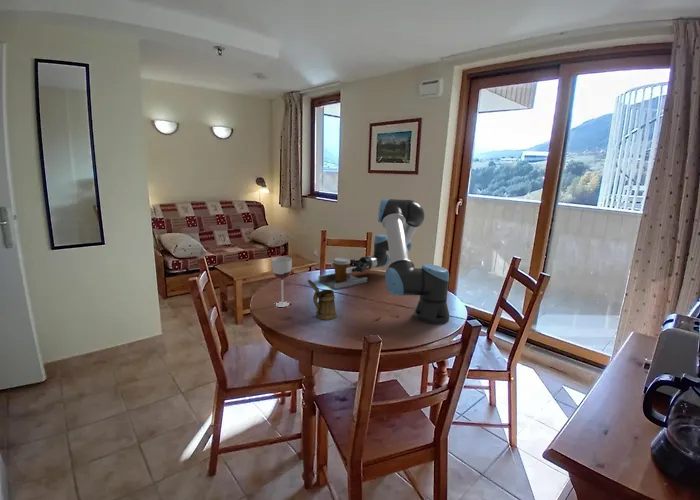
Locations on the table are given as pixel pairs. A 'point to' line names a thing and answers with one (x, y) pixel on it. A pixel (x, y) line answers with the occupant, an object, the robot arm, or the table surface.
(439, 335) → the table surface
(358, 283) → the tray
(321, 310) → the wooden mug
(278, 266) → the wineglass
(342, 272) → the disposable coffee cup
